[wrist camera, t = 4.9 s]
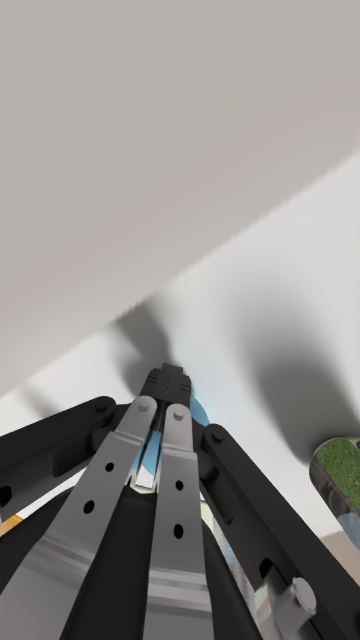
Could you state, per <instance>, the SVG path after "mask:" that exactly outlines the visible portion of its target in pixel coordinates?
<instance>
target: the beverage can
mask: <svg viewBox="0 0 360 640" xmlns="http://www.w3.org/2000/svg"><path fill="white" fill-rule="evenodd" d="M309 475H310V479H311V482H312V484H313V485H314V487H315V488H316V490H317V491H318V493H319V494H320V496H321V497H322V499H323V500H324V502H325V503H326V504H327V506H328V507H329V509H330V510H331V512H332V513H333V515H334V516H335V518H336V519H337V521H338V522H339V523H340V525H341V526H342V528H343V529H344V531H345V532H346V534H347V535H348V537H349V538H350V540H351V541H352V542H353V544H354V545H355V547H356V548H357V550H358V551H359V553H360V437H354V436H347V437H336V438H332V439H329V440H327V441H325V442H324V443H322V444H321V445H320V446H319V447H318V448H317V449H316V450H315V452H314V454H313V457H312V460H311V463H310V467H309Z"/></svg>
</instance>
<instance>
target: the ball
mask: <svg viewBox="0 0 360 640" xmlns="http://www.w3.org/2000/svg"><path fill="white" fill-rule="evenodd" d="M166 395H167V393H166ZM165 399H166V397H165ZM164 404H165V401H164ZM163 408H164V405H163ZM162 412H163V409H162ZM190 413H191V415H192V417H193V418H194V419H195V420H196V421H197V422H198V423H200V424H202V425H203V426H205V427H206V426H207V425H209V420H208V417H207V415H206V412H205V410H204V409H203V407H202V406H201V404H200V403H199V402H198V401H197V400H196V399H195V398H193V397H192V396H190ZM161 417H162V413H161ZM161 417H160V421H161ZM160 421H159V425H160ZM159 425H158V429H157V432H156V431H153V435H152V438H151V440H150V442H149V446H148V449H147V452H146V454H145V457H144V460H143V463H142V464H143V466H144V467H145V468H146V470H147V471H148V472H149V473H150V474H152V475H153V476H154V471H155V464H156V457H157V451H158V445H159V441H160V436H161V433H160V432H158V430H159Z"/></svg>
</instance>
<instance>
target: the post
mask: <svg viewBox="0 0 360 640" xmlns="http://www.w3.org/2000/svg"><path fill="white" fill-rule="evenodd" d="M212 515H213V514H212ZM213 532H214V537H215V539H216V541H217V543H218V545H219V547H220V549H221V551H222V553H223V555H224V557H225V559H226V562H227V564H228V566H229V568H230V570H231V572H232V574H233V576H234V578H235V581H236V583H237V585H238V587H239V589H240V591H241V593H242V595H243V597H244V599H245V602H246V604H247V606H248V608H249V610H250V612H251V614H252V616H253V618H254V620H255V623H256V625H257V627H258V629H259V631H260V628H259V624H258V620H257V615H256V608H255V592H254V590H253V588H252V586H251V584H250V582H249V580H248V579H247V577H246V575H245V573H244V571H243V569H242V567H241V566H240V564H239V562H238V560H237V558H236V556H235V554H234V553H233V551H232V549H231V547H230V545H229V543H228V542H227V540H226V538H225V536H224V534H223V532H222V530H221V529H220V527H219V525H218V523H217V521H216V519H215V517H214V516H213ZM260 633H261V631H260ZM261 635H262V634H261Z"/></svg>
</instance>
